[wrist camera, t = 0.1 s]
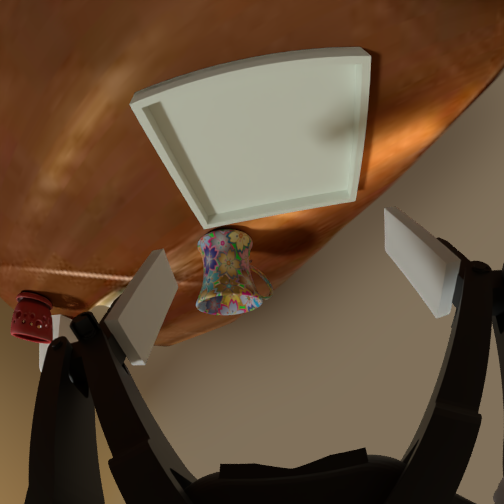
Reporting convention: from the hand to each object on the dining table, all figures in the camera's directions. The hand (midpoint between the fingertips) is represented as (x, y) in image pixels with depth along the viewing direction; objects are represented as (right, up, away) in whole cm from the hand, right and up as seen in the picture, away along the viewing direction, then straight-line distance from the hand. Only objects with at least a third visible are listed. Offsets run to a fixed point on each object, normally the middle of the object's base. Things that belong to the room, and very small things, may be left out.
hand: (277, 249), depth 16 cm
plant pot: (-60, -13, +42) cm, 75 cm away
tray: (0, +11, +12) cm, 16 cm away
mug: (-4, +2, +28) cm, 29 cm away
